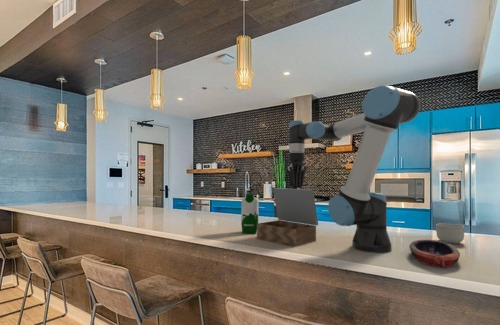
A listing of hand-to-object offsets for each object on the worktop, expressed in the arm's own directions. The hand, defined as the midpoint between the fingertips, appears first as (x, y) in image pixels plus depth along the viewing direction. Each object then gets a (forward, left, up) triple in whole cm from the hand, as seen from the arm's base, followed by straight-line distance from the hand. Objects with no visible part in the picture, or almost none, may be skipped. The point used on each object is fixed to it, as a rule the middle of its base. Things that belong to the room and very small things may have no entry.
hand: (296, 201), depth 145 cm
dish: (-56, -7, -18) cm, 60 cm away
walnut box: (0, +8, -17) cm, 19 cm away
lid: (0, +2, -2) cm, 3 cm away
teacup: (-53, -45, -18) cm, 72 cm away
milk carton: (+24, +8, -18) cm, 31 cm away
